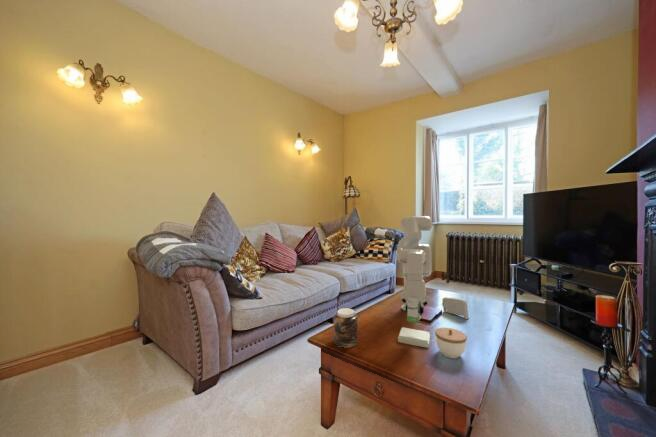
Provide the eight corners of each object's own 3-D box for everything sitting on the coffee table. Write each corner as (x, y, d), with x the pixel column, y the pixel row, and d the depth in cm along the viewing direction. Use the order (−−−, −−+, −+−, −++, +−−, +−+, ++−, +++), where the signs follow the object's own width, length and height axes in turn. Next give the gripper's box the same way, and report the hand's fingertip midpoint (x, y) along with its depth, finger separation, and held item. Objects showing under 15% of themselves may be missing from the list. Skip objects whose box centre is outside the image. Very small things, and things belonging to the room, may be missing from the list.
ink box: (417, 323, 123) (417, 298, 123) (406, 321, 126) (406, 296, 126) (421, 317, 130) (422, 294, 130) (411, 315, 133) (412, 292, 133)
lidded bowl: (451, 364, 107) (452, 338, 107) (428, 350, 119) (429, 326, 119) (473, 358, 112) (473, 332, 112) (449, 344, 124) (449, 321, 124)
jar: (333, 336, 132) (333, 306, 132) (356, 336, 132) (356, 307, 131) (333, 348, 120) (333, 315, 120) (358, 348, 120) (359, 316, 120)
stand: (401, 332, 136) (401, 326, 136) (430, 337, 131) (430, 331, 130) (397, 341, 126) (397, 335, 126) (428, 348, 120) (428, 341, 120)
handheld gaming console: (445, 313, 167) (469, 318, 154) (443, 314, 165) (466, 319, 153) (443, 296, 168) (466, 299, 155) (441, 296, 166) (464, 300, 154)
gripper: (395, 276, 128) (395, 313, 128) (433, 280, 121) (432, 319, 121) (398, 273, 135) (397, 308, 135) (433, 276, 128) (433, 313, 128)
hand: (414, 313), depth 128 cm, fingers closed on ink box, 5 cm apart
